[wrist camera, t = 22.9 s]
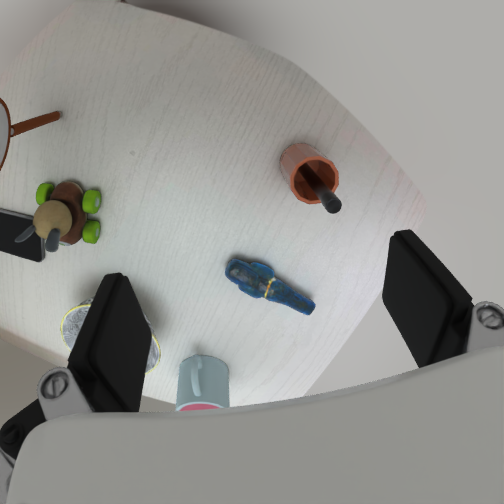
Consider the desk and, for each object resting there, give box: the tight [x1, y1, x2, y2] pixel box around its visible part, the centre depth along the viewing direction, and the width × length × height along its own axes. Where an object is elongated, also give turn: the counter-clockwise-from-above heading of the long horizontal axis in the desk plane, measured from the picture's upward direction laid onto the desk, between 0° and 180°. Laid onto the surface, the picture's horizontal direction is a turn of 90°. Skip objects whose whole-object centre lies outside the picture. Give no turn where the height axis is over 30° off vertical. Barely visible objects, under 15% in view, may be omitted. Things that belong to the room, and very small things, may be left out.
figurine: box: [225, 259, 316, 315], centre depth 45 cm, size 5×4×15 cm
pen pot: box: [280, 143, 339, 204], centre depth 34 cm, size 5×5×7 cm
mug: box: [176, 355, 230, 411], centre depth 51 cm, size 14×9×10 cm
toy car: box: [15, 181, 101, 252], centre depth 33 cm, size 9×9×11 cm
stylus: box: [298, 163, 342, 214], centre depth 32 cm, size 1×2×13 cm
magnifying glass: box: [0, 98, 62, 171], centre depth 22 cm, size 9×2×20 cm, turn 163°
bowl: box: [61, 297, 161, 374], centre depth 44 cm, size 16×16×8 cm
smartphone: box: [0, 209, 45, 262], centre depth 38 cm, size 8×1×15 cm
